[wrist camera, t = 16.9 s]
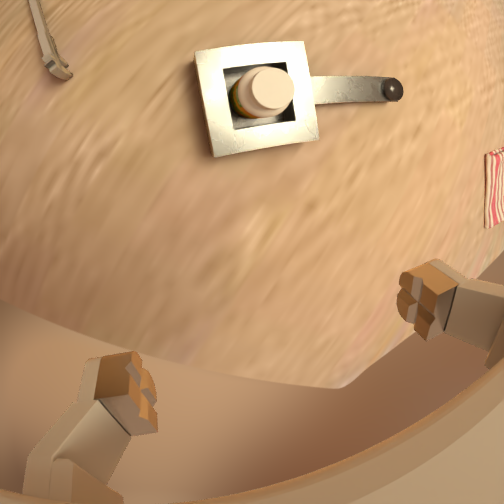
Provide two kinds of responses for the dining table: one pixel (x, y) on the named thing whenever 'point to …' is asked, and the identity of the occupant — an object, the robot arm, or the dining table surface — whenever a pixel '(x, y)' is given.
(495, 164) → the dish towel
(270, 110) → the supplement bottle
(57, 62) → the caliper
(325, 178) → the dining table surface
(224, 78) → the ratchet holder
